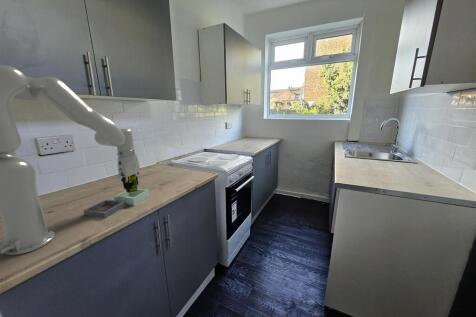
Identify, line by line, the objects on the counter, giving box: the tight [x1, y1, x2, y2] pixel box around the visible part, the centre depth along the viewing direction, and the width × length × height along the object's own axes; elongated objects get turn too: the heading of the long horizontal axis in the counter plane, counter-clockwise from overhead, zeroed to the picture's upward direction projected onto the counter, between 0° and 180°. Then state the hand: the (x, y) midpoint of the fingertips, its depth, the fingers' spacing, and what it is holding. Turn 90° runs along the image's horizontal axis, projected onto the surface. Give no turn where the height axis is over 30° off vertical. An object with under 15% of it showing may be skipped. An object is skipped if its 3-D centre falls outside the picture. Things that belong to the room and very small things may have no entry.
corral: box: [83, 199, 126, 219], centre depth 94 cm, size 12×12×2 cm
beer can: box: [124, 174, 139, 193], centre depth 103 cm, size 5×5×12 cm
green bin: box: [113, 188, 151, 207], centre depth 105 cm, size 12×12×4 cm
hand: (131, 186), depth 104 cm, fingers closed on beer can, 5 cm apart
